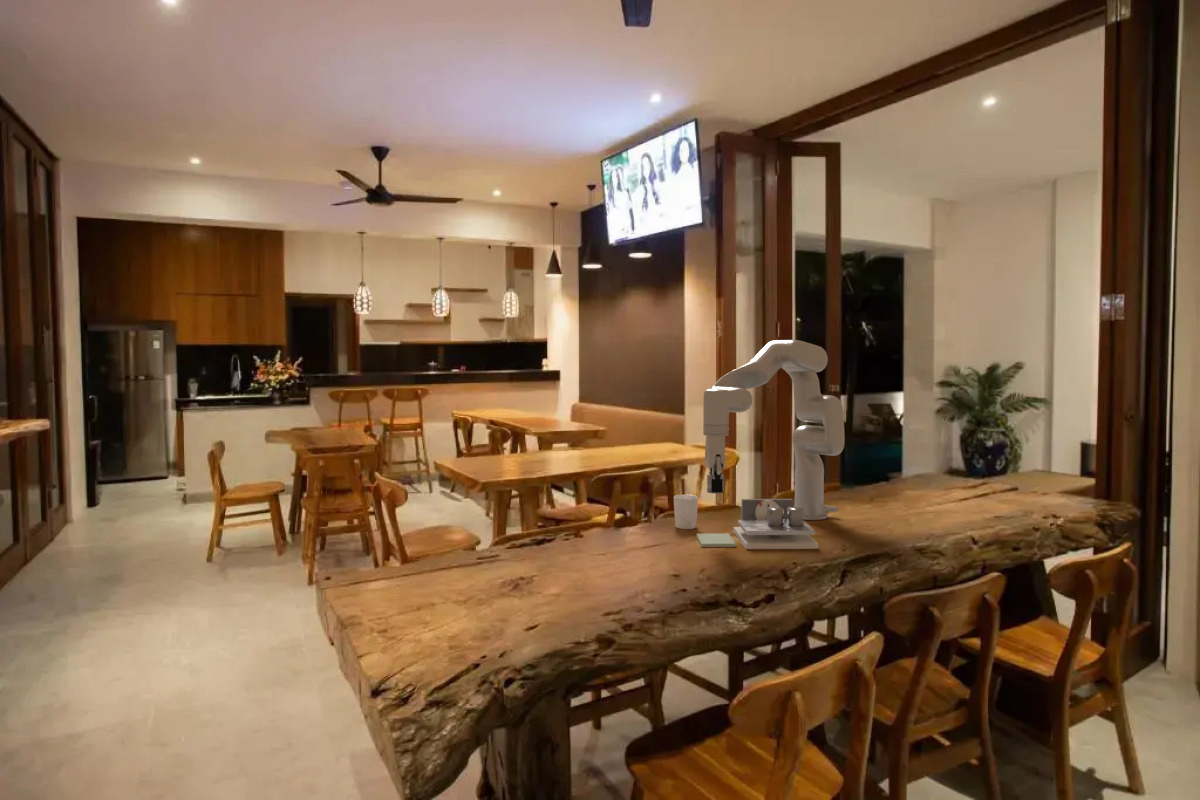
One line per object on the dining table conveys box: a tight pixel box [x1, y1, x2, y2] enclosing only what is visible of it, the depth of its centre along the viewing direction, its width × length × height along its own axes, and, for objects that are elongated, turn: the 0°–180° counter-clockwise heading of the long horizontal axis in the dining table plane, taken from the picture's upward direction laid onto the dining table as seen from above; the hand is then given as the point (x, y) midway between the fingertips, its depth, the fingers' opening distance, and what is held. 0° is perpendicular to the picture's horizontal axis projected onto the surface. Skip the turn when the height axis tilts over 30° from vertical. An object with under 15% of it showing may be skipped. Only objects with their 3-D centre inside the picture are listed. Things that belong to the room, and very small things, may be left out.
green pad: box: [696, 532, 737, 548], centre depth 227 cm, size 10×12×1 cm
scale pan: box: [737, 519, 816, 536], centre depth 227 cm, size 20×14×1 cm
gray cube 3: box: [706, 473, 725, 494], centre depth 226 cm, size 5×5×5 cm
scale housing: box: [732, 498, 819, 550], centre depth 229 cm, size 21×21×10 cm
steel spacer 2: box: [787, 506, 805, 527], centre depth 226 cm, size 5×5×5 cm
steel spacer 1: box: [767, 507, 784, 527], centre depth 226 cm, size 5×5×5 cm
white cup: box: [673, 494, 699, 530], centre depth 246 cm, size 8×8×10 cm
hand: (715, 489), depth 226 cm, fingers closed on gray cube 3, 5 cm apart
